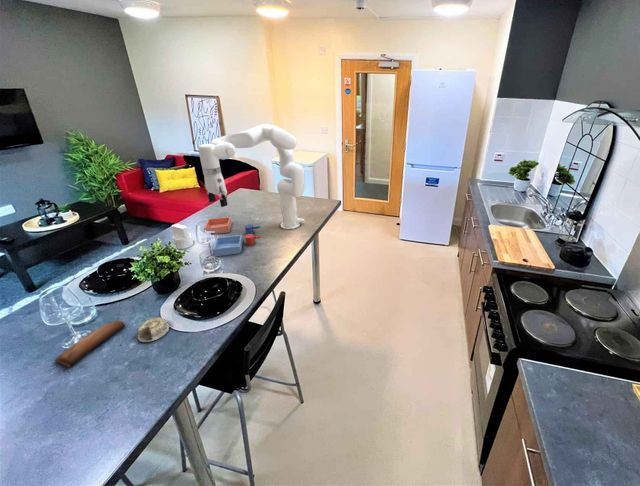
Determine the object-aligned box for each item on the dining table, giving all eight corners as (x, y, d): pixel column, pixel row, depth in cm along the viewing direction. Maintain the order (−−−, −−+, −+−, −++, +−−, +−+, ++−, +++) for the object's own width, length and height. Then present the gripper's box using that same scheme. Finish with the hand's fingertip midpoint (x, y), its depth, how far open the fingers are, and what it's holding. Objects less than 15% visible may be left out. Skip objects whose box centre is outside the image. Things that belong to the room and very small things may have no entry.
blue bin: (242, 241, 170) (241, 234, 168) (240, 253, 159) (239, 246, 157) (218, 244, 167) (216, 237, 165) (214, 256, 155) (213, 249, 153)
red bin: (231, 223, 191) (230, 216, 189) (229, 232, 180) (227, 225, 178) (209, 225, 188) (208, 219, 186) (205, 234, 176) (204, 228, 174)
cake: (152, 322, 114) (149, 310, 112) (176, 324, 113) (173, 313, 111) (130, 341, 104) (126, 329, 103) (156, 344, 104) (153, 332, 102)
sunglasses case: (109, 321, 112) (110, 312, 109) (124, 331, 112) (126, 322, 109) (53, 361, 96) (53, 351, 93) (70, 372, 96) (71, 363, 93)
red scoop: (261, 240, 172) (260, 232, 170) (261, 243, 168) (260, 236, 166) (246, 241, 170) (245, 234, 168) (245, 245, 166) (244, 238, 164)
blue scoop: (260, 230, 183) (259, 223, 181) (260, 233, 179) (259, 226, 177) (246, 231, 181) (245, 224, 179) (245, 235, 177) (244, 228, 175)
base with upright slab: (171, 246, 163) (165, 228, 158) (185, 239, 171) (180, 221, 166) (183, 250, 160) (178, 231, 155) (197, 242, 168) (192, 224, 163)
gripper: (230, 172, 135) (235, 205, 142) (209, 166, 144) (215, 197, 151) (215, 175, 129) (221, 210, 136) (193, 169, 138) (201, 202, 145)
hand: (218, 203), depth 143 cm, fingers open, 9 cm apart
